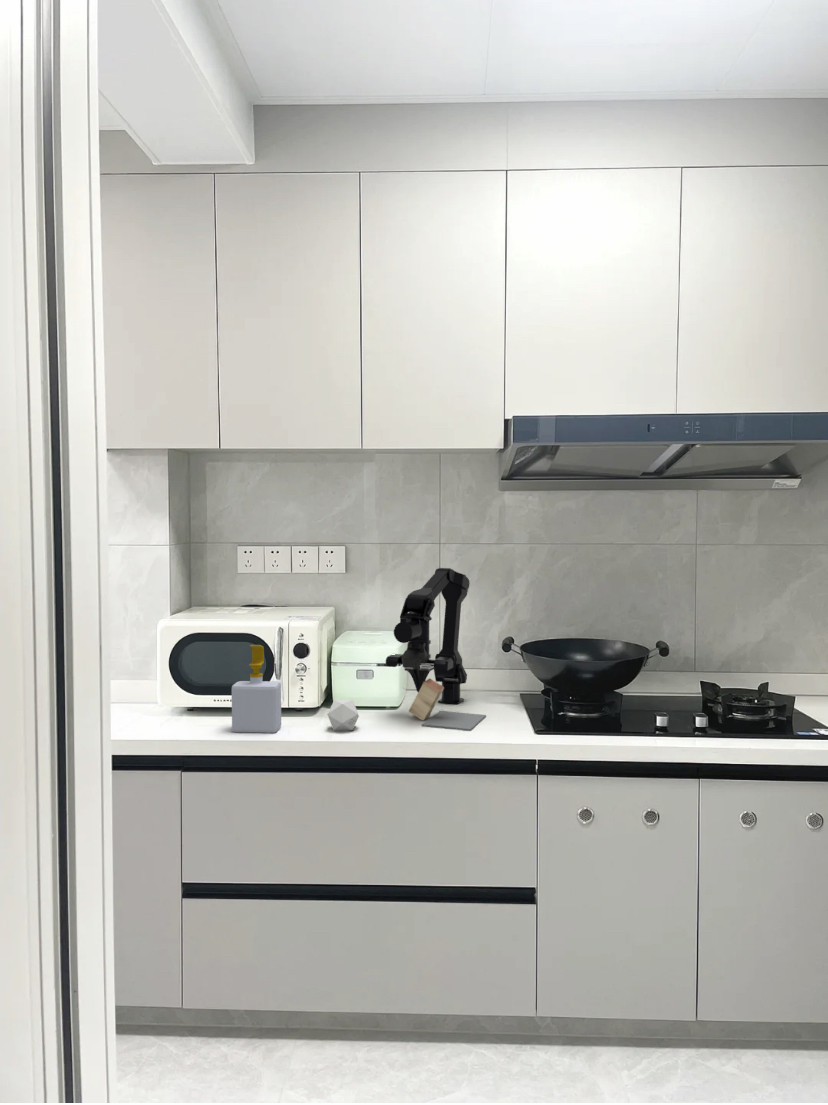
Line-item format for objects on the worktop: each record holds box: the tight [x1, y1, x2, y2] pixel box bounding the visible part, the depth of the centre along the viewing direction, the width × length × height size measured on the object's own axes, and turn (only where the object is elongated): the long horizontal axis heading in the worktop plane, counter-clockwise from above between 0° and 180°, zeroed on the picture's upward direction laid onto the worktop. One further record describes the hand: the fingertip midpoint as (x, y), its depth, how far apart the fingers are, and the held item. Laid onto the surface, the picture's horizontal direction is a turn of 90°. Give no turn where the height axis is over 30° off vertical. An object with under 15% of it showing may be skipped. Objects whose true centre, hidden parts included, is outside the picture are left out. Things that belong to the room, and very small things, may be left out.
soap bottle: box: [231, 644, 282, 734], centre depth 223 cm, size 12×7×23 cm, turn 87°
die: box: [327, 699, 360, 732], centre depth 224 cm, size 8×9×10 cm
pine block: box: [408, 678, 444, 722], centre depth 235 cm, size 5×5×10 cm
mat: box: [421, 710, 487, 732], centre depth 232 cm, size 16×14×1 cm
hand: (419, 692), depth 236 cm, fingers closed
